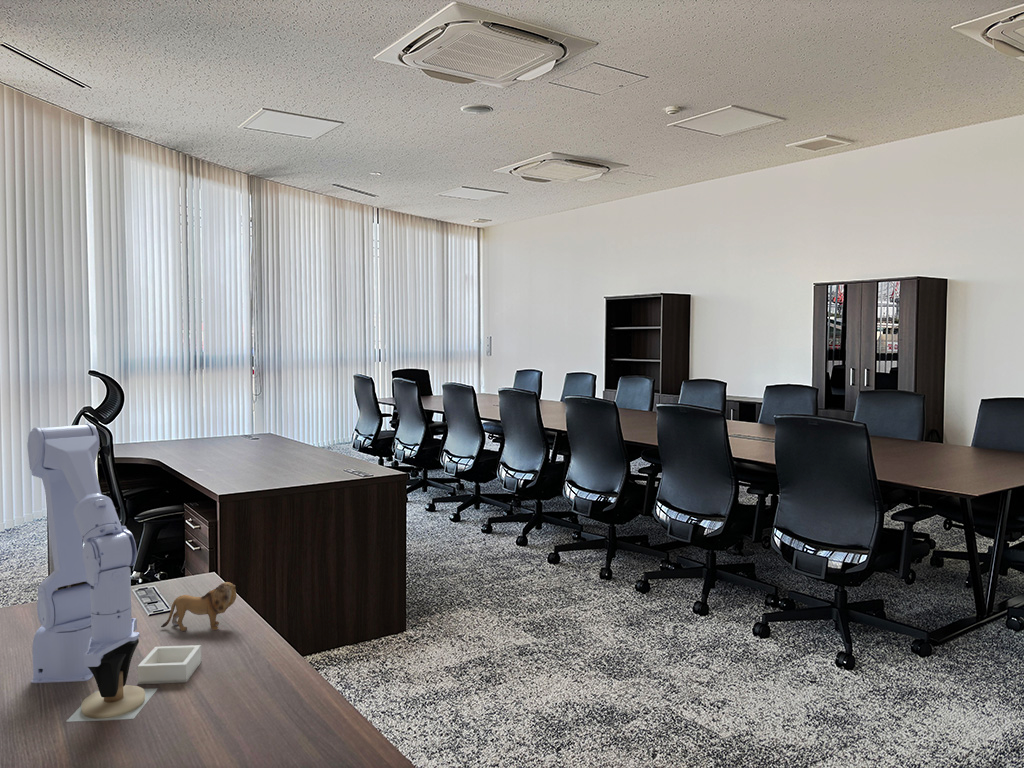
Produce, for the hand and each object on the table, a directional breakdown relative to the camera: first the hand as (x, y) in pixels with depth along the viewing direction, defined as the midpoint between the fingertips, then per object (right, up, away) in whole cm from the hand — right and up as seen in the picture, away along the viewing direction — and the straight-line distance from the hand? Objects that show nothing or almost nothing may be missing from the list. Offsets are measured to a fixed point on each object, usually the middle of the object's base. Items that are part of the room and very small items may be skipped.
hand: (113, 691), depth 119 cm
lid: (0, -2, 0) cm, 2 cm away
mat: (0, -3, 0) cm, 3 cm away
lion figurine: (0, -1, +34) cm, 34 cm away
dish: (+4, -2, +12) cm, 12 cm away
